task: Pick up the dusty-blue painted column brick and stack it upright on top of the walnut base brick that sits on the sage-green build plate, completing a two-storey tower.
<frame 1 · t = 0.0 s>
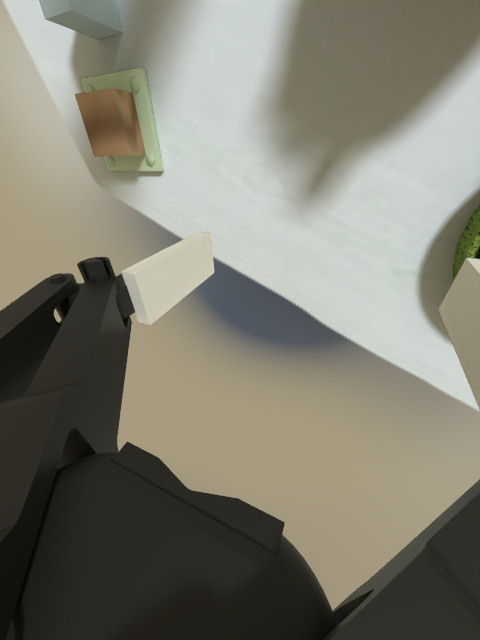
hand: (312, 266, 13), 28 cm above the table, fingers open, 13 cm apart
base brick: (121, 126, 41), point 1 cm above the table, touching build plate
column brick: (103, 9, 34), on the table
build plate: (126, 127, 42), on the table
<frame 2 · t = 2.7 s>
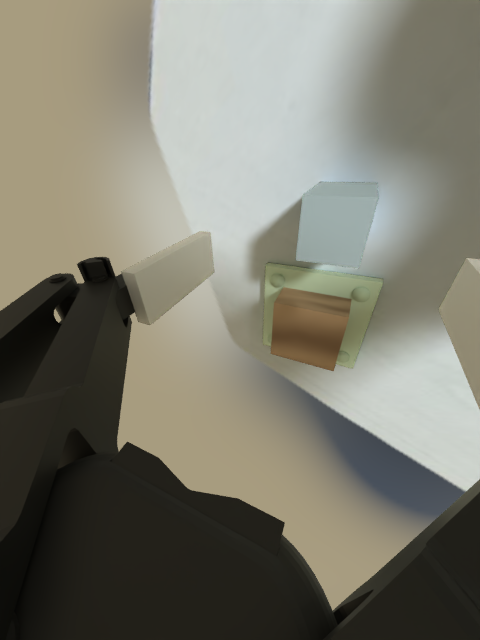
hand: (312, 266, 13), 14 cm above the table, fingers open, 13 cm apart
base brick: (311, 319, 31), point 1 cm above the table, touching build plate
column brick: (342, 210, 24), on the table
build plate: (312, 315, 32), on the table
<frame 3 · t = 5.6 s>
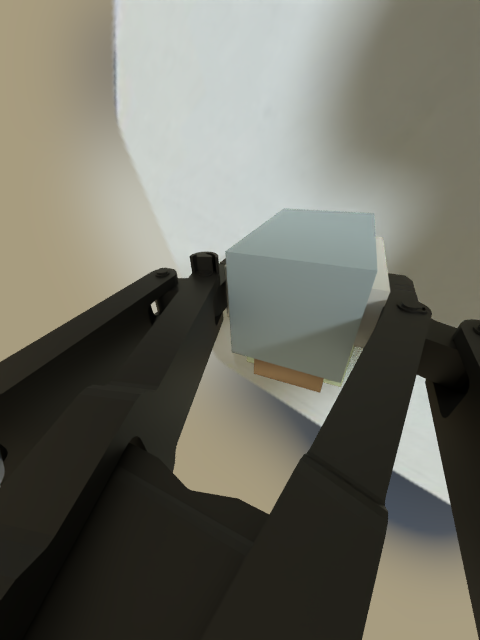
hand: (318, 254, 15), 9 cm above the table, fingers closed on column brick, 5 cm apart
base brick: (296, 336, 29), point 1 cm above the table, touching build plate
column brick: (319, 253, 15), point 9 cm above the table, touching gripper
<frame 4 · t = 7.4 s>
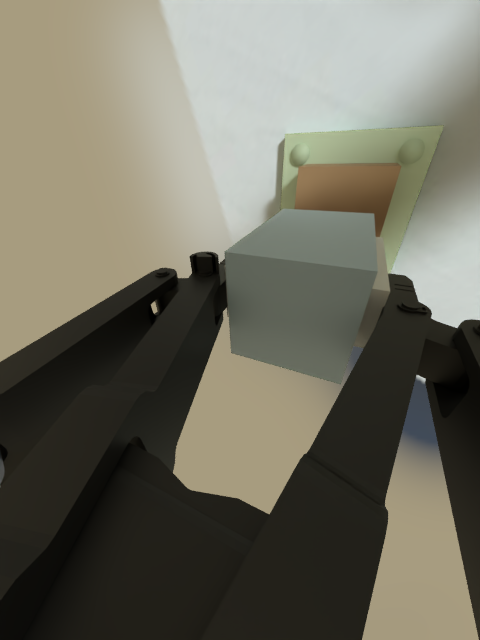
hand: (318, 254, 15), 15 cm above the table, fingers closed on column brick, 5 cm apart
base brick: (340, 208, 25), point 1 cm above the table, touching build plate
column brick: (318, 253, 15), point 15 cm above the table, touching gripper
build plate: (341, 206, 26), on the table
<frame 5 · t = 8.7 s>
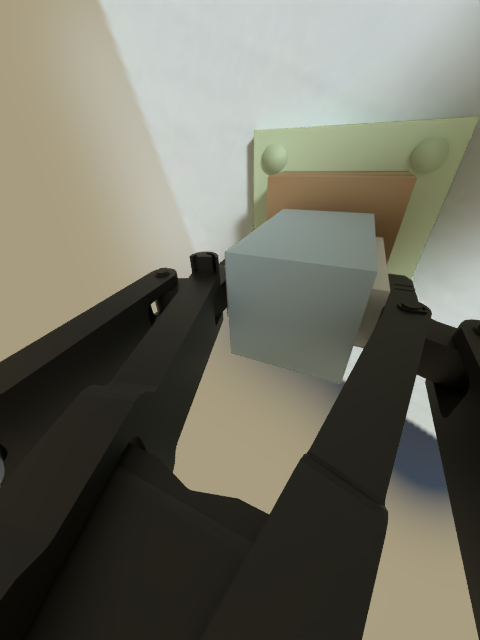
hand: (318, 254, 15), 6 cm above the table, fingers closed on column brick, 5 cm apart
base brick: (330, 230, 19), point 1 cm above the table, touching build plate
column brick: (318, 253, 15), point 6 cm above the table, touching gripper
build plate: (331, 227, 20), on the table
when the fingers open (5 cm above the table, at t = 9.3 s): column brick stays where it is, resting on base brick.
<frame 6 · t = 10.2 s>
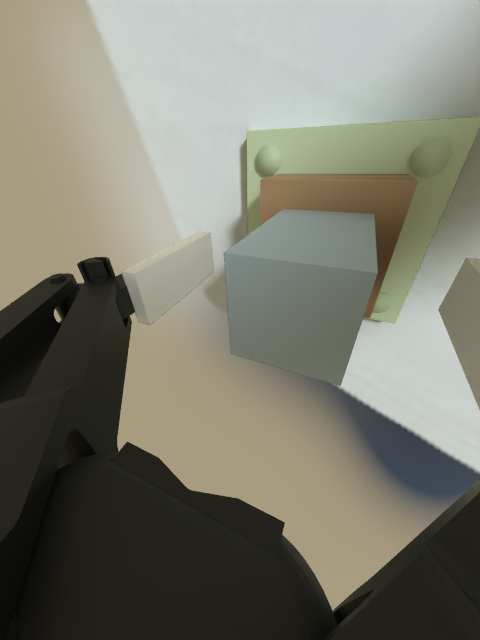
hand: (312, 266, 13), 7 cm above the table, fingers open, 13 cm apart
base brick: (327, 235, 18), point 1 cm above the table, touching build plate, column brick
column brick: (318, 253, 15), point 5 cm above the table, touching base brick
build plate: (328, 232, 19), on the table
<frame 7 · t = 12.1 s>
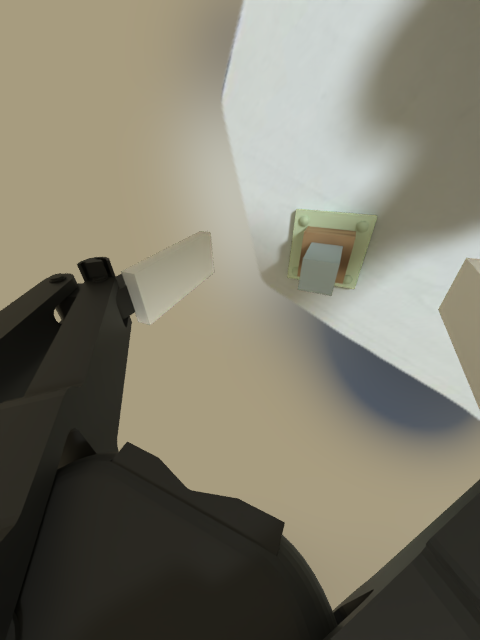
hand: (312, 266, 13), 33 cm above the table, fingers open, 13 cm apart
base brick: (326, 251, 44), point 1 cm above the table, touching build plate, column brick
column brick: (323, 258, 41), point 5 cm above the table, touching base brick
build plate: (327, 249, 45), on the table
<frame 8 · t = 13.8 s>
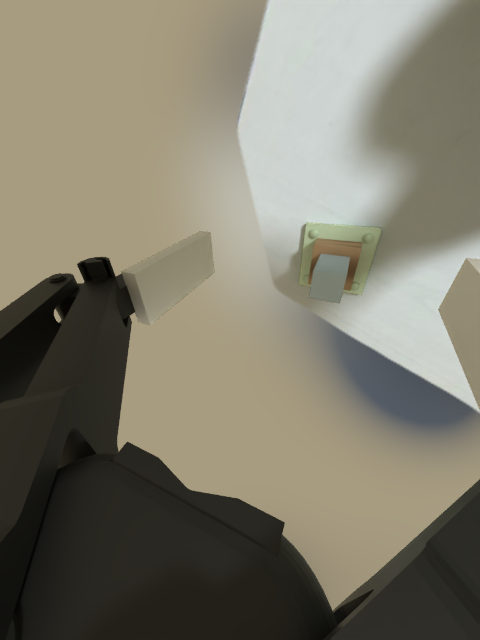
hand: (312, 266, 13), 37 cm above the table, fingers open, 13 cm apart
base brick: (334, 260, 47), point 1 cm above the table, touching build plate, column brick
column brick: (332, 268, 44), point 5 cm above the table, touching base brick
build plate: (335, 258, 48), on the table
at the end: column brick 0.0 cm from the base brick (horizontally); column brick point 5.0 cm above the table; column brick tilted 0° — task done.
